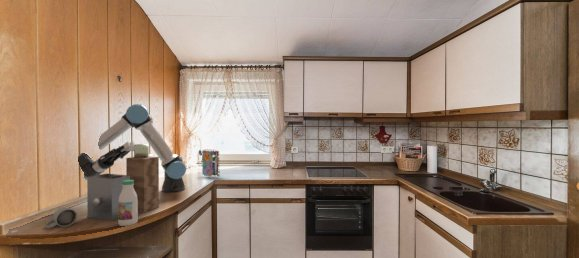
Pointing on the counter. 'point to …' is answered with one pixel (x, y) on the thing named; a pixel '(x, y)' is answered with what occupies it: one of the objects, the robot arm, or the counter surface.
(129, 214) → the milk bottle
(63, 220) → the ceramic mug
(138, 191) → the walnut stand
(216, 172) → the box
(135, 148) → the spout can
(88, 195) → the box
